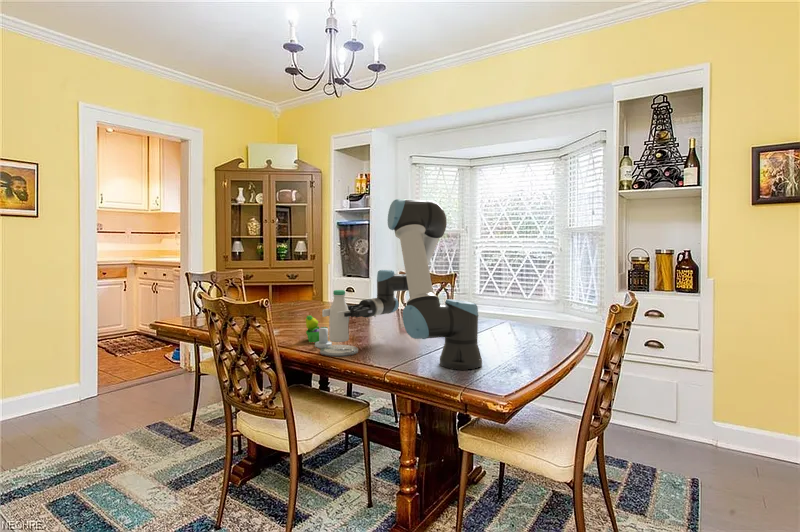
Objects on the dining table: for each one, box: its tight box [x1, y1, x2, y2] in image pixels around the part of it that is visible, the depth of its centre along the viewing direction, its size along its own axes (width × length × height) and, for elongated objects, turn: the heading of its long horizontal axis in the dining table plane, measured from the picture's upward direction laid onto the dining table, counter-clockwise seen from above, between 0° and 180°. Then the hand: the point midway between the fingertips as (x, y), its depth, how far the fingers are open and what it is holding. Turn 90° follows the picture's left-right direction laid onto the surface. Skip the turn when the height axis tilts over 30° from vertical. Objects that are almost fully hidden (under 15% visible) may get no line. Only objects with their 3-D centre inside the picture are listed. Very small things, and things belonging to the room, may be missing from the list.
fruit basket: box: [305, 315, 329, 342], centre depth 200 cm, size 11×9×11 cm
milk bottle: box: [328, 289, 350, 343], centre depth 180 cm, size 8×8×20 cm
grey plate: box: [319, 344, 359, 358], centre depth 180 cm, size 15×15×2 cm
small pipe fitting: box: [314, 327, 333, 349], centre depth 189 cm, size 7×7×8 cm
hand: (330, 314), depth 176 cm, fingers closed on milk bottle, 7 cm apart
